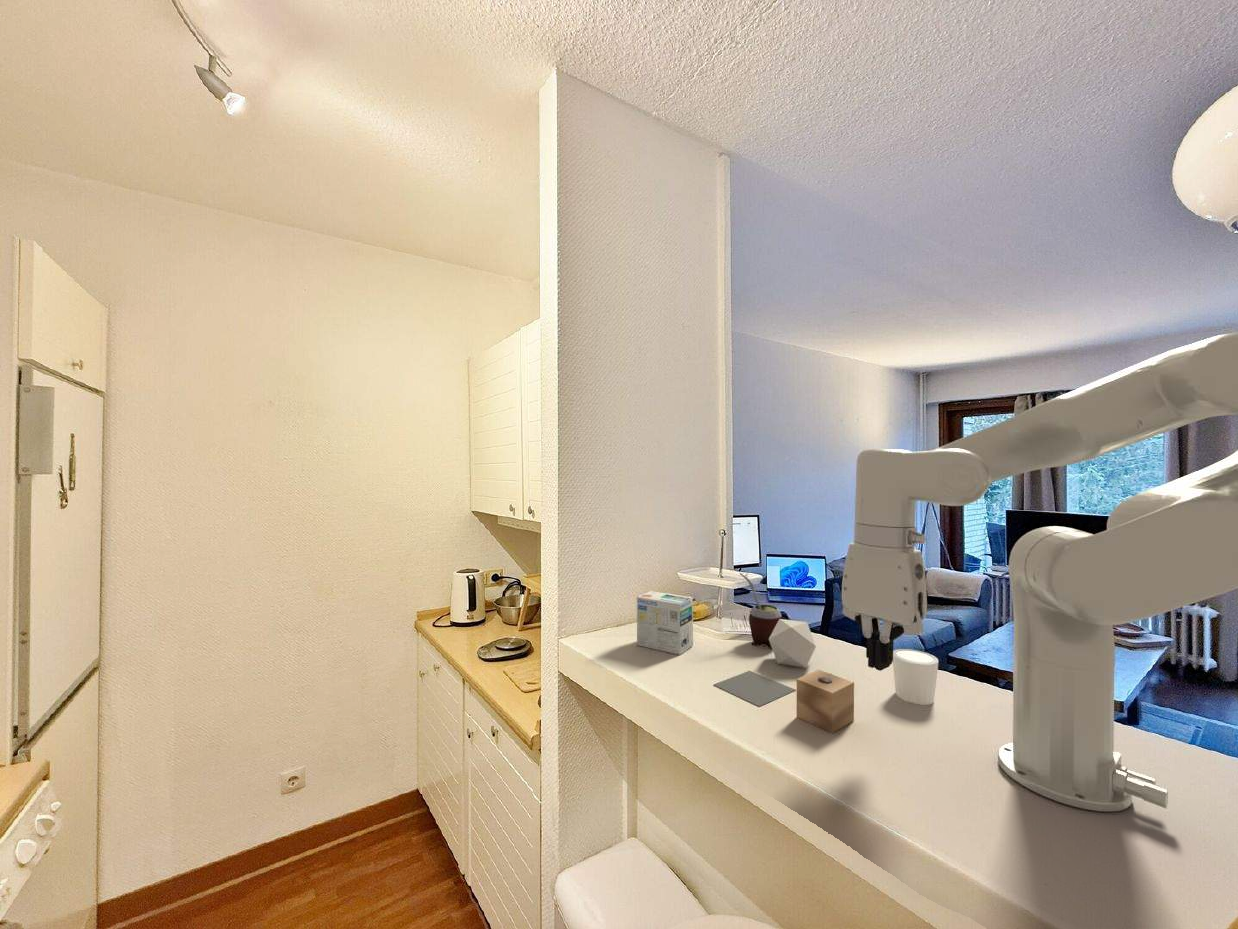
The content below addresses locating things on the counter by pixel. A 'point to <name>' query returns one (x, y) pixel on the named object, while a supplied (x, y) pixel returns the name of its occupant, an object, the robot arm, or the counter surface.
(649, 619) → the light bulb box
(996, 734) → the counter surface
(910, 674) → the white cylinder
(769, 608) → the mate gourd
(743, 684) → the mat
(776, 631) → the die
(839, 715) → the walnut block
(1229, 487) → the robot arm
